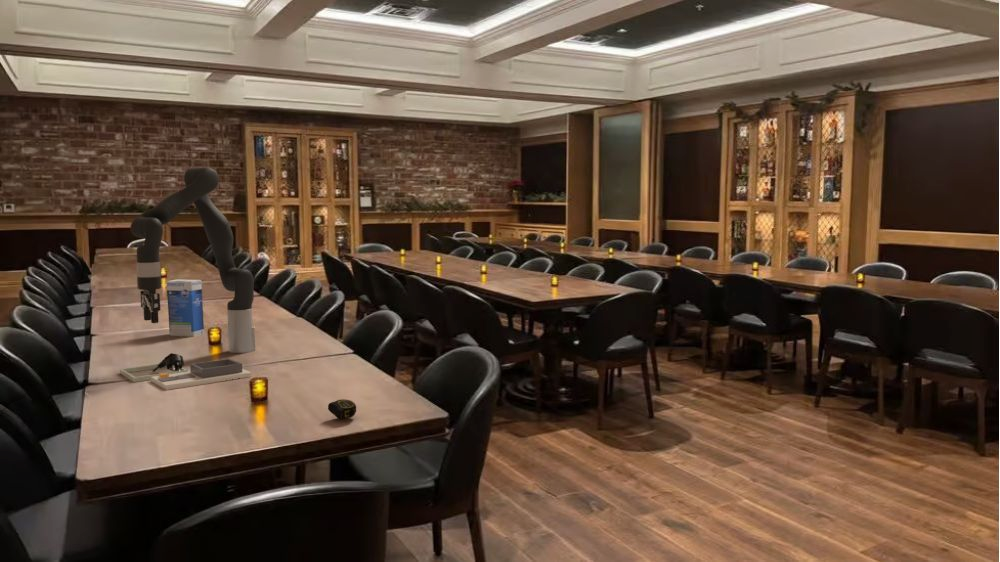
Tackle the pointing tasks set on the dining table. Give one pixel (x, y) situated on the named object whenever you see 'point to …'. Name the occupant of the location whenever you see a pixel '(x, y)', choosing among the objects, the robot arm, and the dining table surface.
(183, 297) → the string lights box
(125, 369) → the pick tray
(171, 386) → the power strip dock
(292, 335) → the dining table surface
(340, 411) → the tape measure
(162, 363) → the power plug
